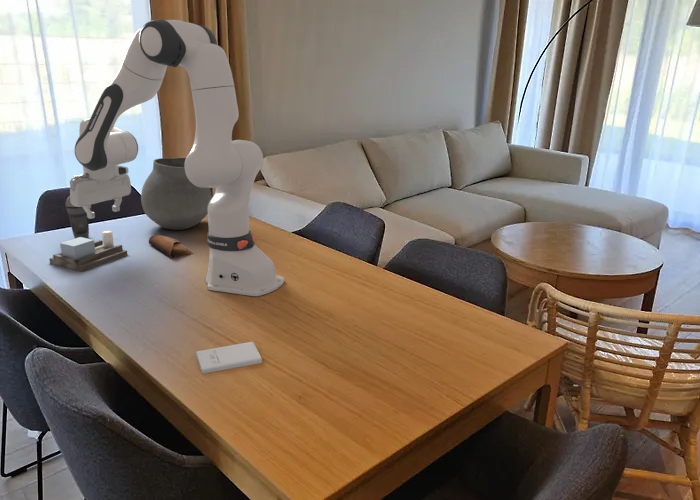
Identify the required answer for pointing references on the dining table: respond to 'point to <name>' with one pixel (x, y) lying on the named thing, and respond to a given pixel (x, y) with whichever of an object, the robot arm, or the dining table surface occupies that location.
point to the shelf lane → (90, 258)
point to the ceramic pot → (173, 196)
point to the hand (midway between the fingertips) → (104, 214)
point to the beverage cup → (78, 220)
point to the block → (85, 246)
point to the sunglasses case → (169, 246)
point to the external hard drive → (228, 357)
